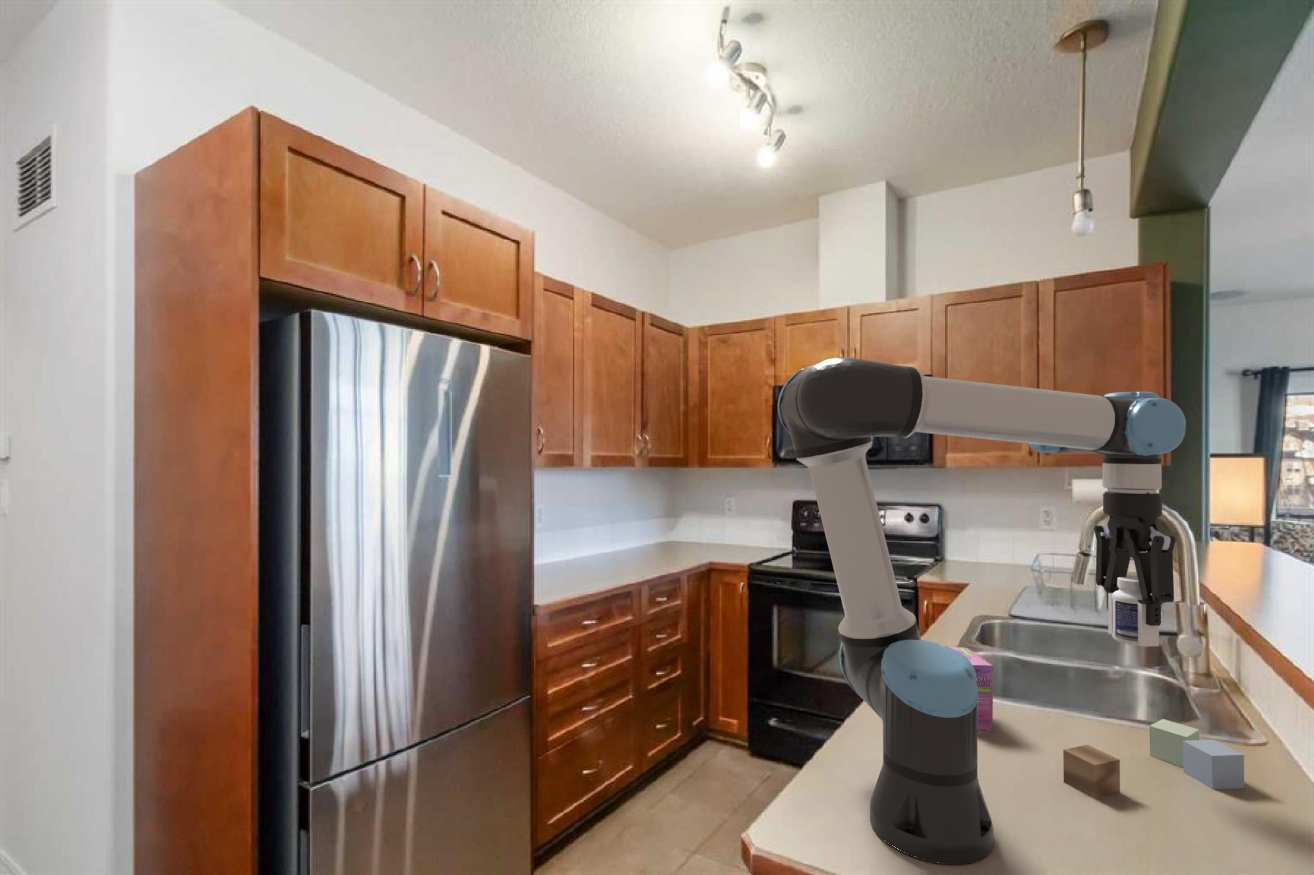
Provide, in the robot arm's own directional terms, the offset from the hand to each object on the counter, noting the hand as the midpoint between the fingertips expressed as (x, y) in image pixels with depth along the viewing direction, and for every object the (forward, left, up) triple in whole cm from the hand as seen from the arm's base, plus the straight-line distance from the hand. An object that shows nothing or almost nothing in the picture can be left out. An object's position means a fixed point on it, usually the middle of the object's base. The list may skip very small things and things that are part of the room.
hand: (1132, 639), depth 103 cm
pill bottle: (0, 0, -1) cm, 1 cm away
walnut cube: (-10, -4, -21) cm, 23 cm away
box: (-16, +21, -21) cm, 34 cm away
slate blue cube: (+10, -3, -21) cm, 23 cm away
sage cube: (+10, +4, -21) cm, 23 cm away
